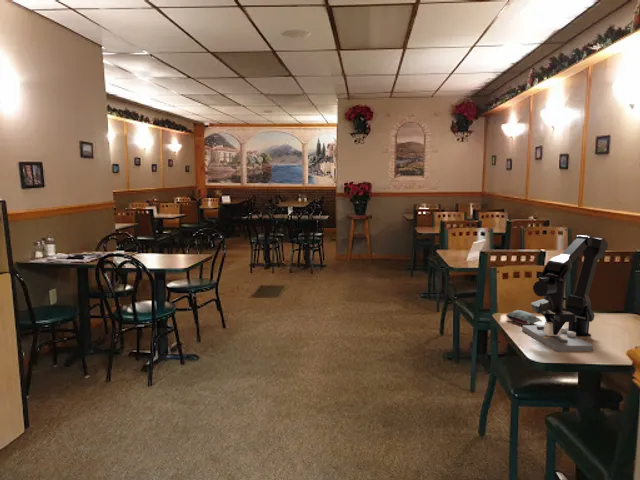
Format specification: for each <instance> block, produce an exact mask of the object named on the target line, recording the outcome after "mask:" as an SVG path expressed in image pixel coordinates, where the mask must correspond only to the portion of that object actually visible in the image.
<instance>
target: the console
mask: <svg viewBox="0 0 640 480" xmlns="http://www.w3.org/2000/svg"><path fill="white" fill-rule="evenodd" d="M544 328H545V324H544V325H543V324H542V325H540V324H538V325H537V324H536V325H535V324H533V325H532V324H528V325H525V324H522V326H521V331H522V332H524V333H526V334H528V335H529V336H531V337H532V338H534V339H535V340H537V341H538V342H540V343H542V344H543V345H544V346H546V347H548V348H550V349H551V350H553V351H554V352H591V351H593V352H594V345H593V344H592V343H590V342H588V341H586V340H584V339H582V338H581V337H579V336H576V332H573V331H568V327H564V326H562V330H561V336H548V335H546V334H544Z"/></svg>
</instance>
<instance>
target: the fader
mask: <svg viewBox="0 0 640 480" xmlns="http://www.w3.org/2000/svg"><path fill="white" fill-rule="evenodd" d="M544 325H545V328H544V334H546V335H548V336H561V330H562V328H561V329H560V331H559V332H558V334H557V335H554V334H553V322H546V321H545V322H544Z"/></svg>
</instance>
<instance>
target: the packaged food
mask: <svg viewBox="0 0 640 480" xmlns="http://www.w3.org/2000/svg"><path fill="white" fill-rule="evenodd" d="M505 317H507V318H508V319H509V320H510V321H512V322H515V323H518V324H522V325H532V324H535V323H538V322H543V321H542V320H541V318H540V317H537V316H536V315H535V314H533V313H531V312H529V311H525V310H520V309H517V310H516V309H515V310H513V311H511V312H509V313H507V314H505Z"/></svg>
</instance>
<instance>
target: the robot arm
mask: <svg viewBox="0 0 640 480" xmlns="http://www.w3.org/2000/svg"><path fill="white" fill-rule="evenodd" d="M608 245H609V244H608V242H607V241H606V239H605V238H603V237H602V238H601V237H594V236H593V237H592V236H590V235H583V234H582V235H581V234H579V235H576V236H575V239H574V240H573V241H572V242H571V243H570V244H569V245H568V247H566V249H564V251H563V252H562V253H561V254H559V255H556V256H553V257H552V258H551V259H549V260H548V261H547V262H546V263H545V265H544V269H543V270H542V272H541V274H540V277H538V280H537V281H535V283H534V284H533V286H532V290H533V293H534V294H535V295H536V296H537V297H543V298H541V299H538V300H535V301H532V302H531V303H530V304H531V308H532V312H534V313H536V314H537V315H538V314H540V315H542V316H543V317H544V319H545V322H553V334H554V335H557V334H558V332H559V331H560V329H561V328H562V327H564V325H565V324H566V323H568V326H567V328H568V331H573V332H576V336H577V337H579V336H580V337H581V336H583V337H584V336H592V334H591V333H589V328H590V323H591V322H593V321H594V319H595V317H596V315H595V313H594V312H593V309H592V301H591V299H590V292H591V287H592V283H593V280H594V276H595V274H596V268H597V265H598V261H600V259H601V258H603V257H604V256H605V254H606V250H607V249H608ZM581 254H582V255H583V261H582V264H581V268H580V270H579V271H580V272H579V275H578V276H579V277H578V280H577V283H576V286H575V291H574V292H573V293H572V294H568V295H567V296H565V291H566V282H568V281H569V278H568V276H569V274H570V272H571V271H572V269H573V268H572V265H573V263H574V262H575V261H576V260H577V258H578V257H580V255H581ZM565 301H566V303H565ZM564 304H565V306H564Z"/></svg>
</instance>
